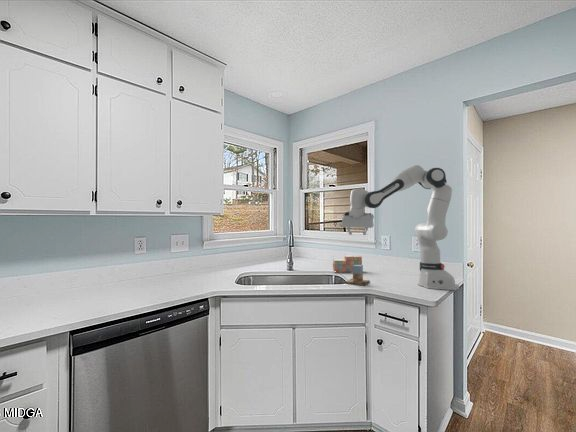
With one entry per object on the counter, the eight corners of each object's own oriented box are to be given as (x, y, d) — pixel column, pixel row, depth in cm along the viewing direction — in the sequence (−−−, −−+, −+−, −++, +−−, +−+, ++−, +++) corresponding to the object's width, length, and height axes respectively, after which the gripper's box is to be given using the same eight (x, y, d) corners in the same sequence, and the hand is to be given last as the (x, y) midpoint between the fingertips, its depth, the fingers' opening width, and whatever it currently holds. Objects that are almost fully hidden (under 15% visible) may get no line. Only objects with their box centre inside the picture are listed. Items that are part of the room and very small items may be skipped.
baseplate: (369, 282, 193) (369, 280, 193) (364, 285, 184) (364, 283, 184) (351, 280, 199) (351, 278, 199) (345, 283, 190) (345, 281, 190)
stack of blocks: (334, 272, 228) (334, 256, 228) (332, 271, 234) (332, 255, 234) (362, 272, 229) (361, 256, 229) (359, 270, 235) (359, 255, 235)
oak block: (362, 280, 192) (362, 272, 192) (360, 282, 188) (360, 274, 188) (355, 279, 195) (355, 272, 195) (352, 281, 190) (352, 273, 191)
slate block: (362, 272, 192) (362, 265, 192) (360, 274, 188) (360, 266, 188) (355, 272, 195) (355, 264, 195) (352, 273, 190) (352, 265, 190)
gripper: (374, 213, 189) (374, 234, 189) (344, 213, 199) (344, 234, 199) (372, 213, 184) (372, 235, 183) (340, 213, 194) (340, 234, 194)
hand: (357, 234), depth 191 cm, fingers open, 8 cm apart
